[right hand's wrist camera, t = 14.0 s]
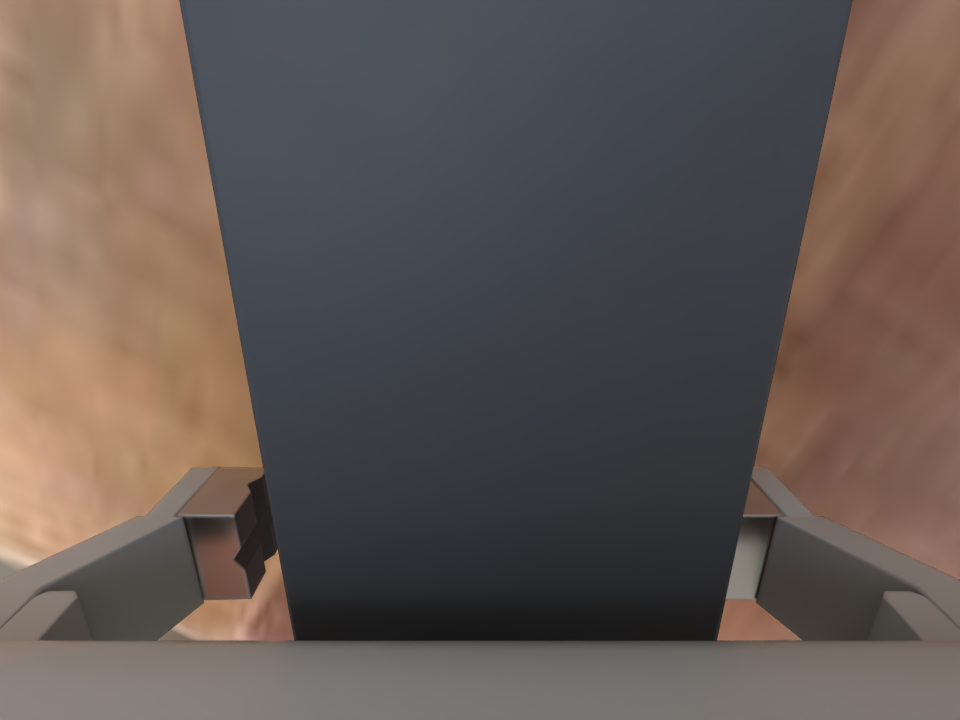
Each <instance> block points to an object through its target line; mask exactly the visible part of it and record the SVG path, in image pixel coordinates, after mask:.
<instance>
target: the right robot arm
mask: <svg viewBox="0 0 960 720" xmlns="http://www.w3.org/2000/svg"><path fill="white" fill-rule="evenodd" d="M277 549H278V547H277V541H276V535H275V530H274V524H273V519H272V513H271V508H270V502H269V496H268V491H267V485H266V480H265V474H264V469H263V468H248V467H222V468H221V467H196V468H192V469H190V471H189V472H188V473H187V474H186V475H185V476H184V477H183V478H182V479H181V480H180V481H179V482H178V483H177V484H176V485H175V486H174V487H173V488H172V489H171V490H170V491H169V492H168V493H167V494H166V495H165V497H164V498H163V499H162V500H161V501H160V502H159V503H158V504H157V505H156V506H155V507H154V508H153V509H152V510H151V511H150V512H149V513H148V514H147V515H146V516H140V517H135V518H133V519H130V520H128V521H126V522H124V523H122V524H120V525H117V526H115V527H113V528H111V529H109V530H107V531H105V532H102V533H100V534H98V535H96V536H94V537H92V538H89V539H87V540H85V541H83V542H81V543H79V544H77V545H74V546H72V547H70V548H68V549H66V550H64V551H61V552H59V553H57V554H55V555H53V556H51V557H49V558H46V559H44V560H42V561H40V562H38V563H36V564H33V565H31V566H29V567H27V568H25V569H23V570H20V571H18V572H16V573H14V574H12V575H10V576H8V577H5V578H3V579H1V580H0V720H960V580H959V579H956V578H954V577H952V576H950V575H948V574H946V573H943V572H941V571H939V570H937V569H935V568H933V567H931V566H928V565H926V564H924V563H922V562H920V561H918V560H916V559H913V558H911V557H909V556H907V555H905V554H903V553H900V552H898V551H896V550H894V549H892V548H890V547H888V546H885V545H883V544H881V543H879V542H877V541H875V540H873V539H870V538H868V537H866V536H864V535H862V534H860V533H858V532H855V531H853V530H851V529H849V528H847V527H845V526H842V525H840V524H838V523H836V522H834V521H832V520H830V519H827V518H825V517H821V516H814V515H813V514H812V513H811V512H810V511H809V510H808V509H807V508H806V507H805V506H804V505H803V504H802V503H801V502H800V501H799V500H798V499H797V497H796V496H795V495H794V494H793V493H792V492H791V491H790V490H789V489H788V488H787V487H786V486H785V485H784V484H783V483H782V482H781V481H780V480H779V479H778V478H777V477H776V476H775V475H774V474H773V472H772V471H771V470H770V469H768V468H765V467H763V466H762V467H753V472H752V477H751V481H750V486H749V491H748V496H747V500H746V505H745V510H744V514H743V519H742V524H741V529H740V533H739V538H738V543H737V547H736V552H735V557H734V562H733V566H732V571H731V576H730V580H729V585H728V590H727V595H726V599H731V600H756V603H757V604H759V605H760V606H761V607H762V608H764V609H765V610H766V611H767V612H769V613H770V614H771V615H772V616H774V617H775V618H776V619H777V620H779V621H780V622H781V623H782V624H783V625H785V626H786V627H787V628H788V629H790V630H791V631H792V632H793V633H795V634H796V635H797V636H798V637H800V638H801V639H802V640H803V641H157V640H158V639H159V638H160V637H162V636H163V635H164V634H165V633H167V632H168V631H169V630H170V629H172V628H173V627H174V626H175V625H177V624H178V623H179V622H180V621H182V620H183V619H184V618H185V617H187V616H188V615H189V614H190V613H192V612H193V611H194V610H195V609H197V608H198V607H199V606H200V605H202V604H203V603H204V600H228V599H251V598H252V596H253V595H254V593H255V591H256V589H257V587H258V585H259V583H260V581H261V580H262V578H263V576H264V574H265V572H266V570H265V564H264V561H266V560H267V559H269V558H270V557H272V556H273V555H275V553H276V551H277Z"/></svg>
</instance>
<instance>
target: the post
mask: <svg viewBox="0 0 960 720" xmlns="http://www.w3.org/2000/svg"><path fill="white" fill-rule="evenodd" d="M179 1H180V6H181V12H182V17H183V23H184V29H185V34H186V40H187V45H188V51H189V56H190V62H191V68H192V73H193V79H194V84H195V90H196V95H197V101H198V107H199V112H200V118H201V123H202V129H203V134H204V140H205V146H206V151H207V157H208V162H209V168H210V173H211V179H212V185H213V190H214V196H215V201H216V207H217V212H218V218H219V224H220V229H221V235H222V240H223V246H224V251H225V257H226V263H227V268H228V274H229V279H230V285H231V290H232V296H233V302H234V307H235V313H236V318H237V324H238V329H239V335H240V341H241V346H242V352H243V357H244V363H245V368H246V374H247V379H248V385H249V391H250V396H251V402H252V407H253V413H254V418H255V424H256V430H257V435H258V441H259V446H260V452H261V457H262V463H263V469H264V474H265V480H266V485H267V491H268V496H269V502H270V508H271V513H272V519H273V524H274V530H275V535H276V541H277V547H278V552H279V558H280V563H281V569H282V574H283V580H284V586H285V591H286V597H287V602H288V608H289V613H290V619H291V625H292V630H293V636H294V641H717V637H718V632H719V628H720V623H721V618H722V613H723V609H724V604H725V599H726V595H727V590H728V585H729V580H730V576H731V571H732V566H733V562H734V557H735V552H736V547H737V543H738V538H739V533H740V529H741V524H742V519H743V514H744V510H745V505H746V500H747V496H748V491H749V486H750V481H751V477H752V472H753V467H754V462H755V458H756V453H757V448H758V444H759V439H760V434H761V429H762V425H763V420H764V415H765V411H766V406H767V401H768V396H769V392H770V387H771V382H772V378H773V373H774V368H775V363H776V359H777V354H778V349H779V345H780V340H781V335H782V330H783V326H784V321H785V316H786V312H787V307H788V302H789V297H790V293H791V288H792V283H793V279H794V274H795V269H796V264H797V260H798V255H799V250H800V246H801V241H802V236H803V231H804V227H805V222H806V217H807V213H808V208H809V203H810V198H811V194H812V189H813V184H814V180H815V175H816V170H817V165H818V161H819V156H820V151H821V147H822V142H823V137H824V132H825V128H826V123H827V118H828V114H829V109H830V104H831V99H832V95H833V90H834V85H835V80H836V76H837V71H838V66H839V62H840V57H841V52H842V47H843V43H844V38H845V33H846V29H847V24H848V19H849V14H850V10H851V5H852V0H179Z"/></svg>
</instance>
